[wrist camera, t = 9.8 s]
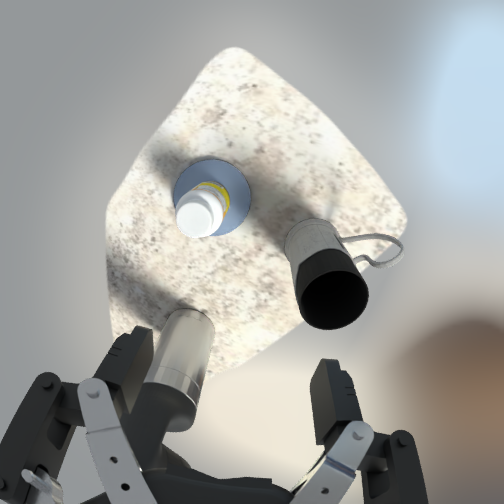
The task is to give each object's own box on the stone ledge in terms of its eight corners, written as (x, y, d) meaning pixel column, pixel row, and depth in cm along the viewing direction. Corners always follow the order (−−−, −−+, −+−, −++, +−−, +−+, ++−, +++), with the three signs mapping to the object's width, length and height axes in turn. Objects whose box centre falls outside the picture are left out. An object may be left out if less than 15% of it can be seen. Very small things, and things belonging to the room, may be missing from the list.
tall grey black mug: (273, 236, 40) (277, 289, 26) (357, 190, 36) (404, 221, 23) (300, 281, 43) (313, 345, 29) (378, 239, 39) (423, 288, 25)
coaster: (243, 239, 40) (242, 242, 40) (172, 226, 40) (170, 228, 39) (257, 166, 36) (257, 167, 35) (181, 154, 36) (178, 154, 35)
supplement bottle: (201, 223, 39) (180, 251, 29) (186, 188, 37) (160, 205, 27) (237, 211, 38) (227, 236, 28) (223, 174, 36) (207, 186, 26)
